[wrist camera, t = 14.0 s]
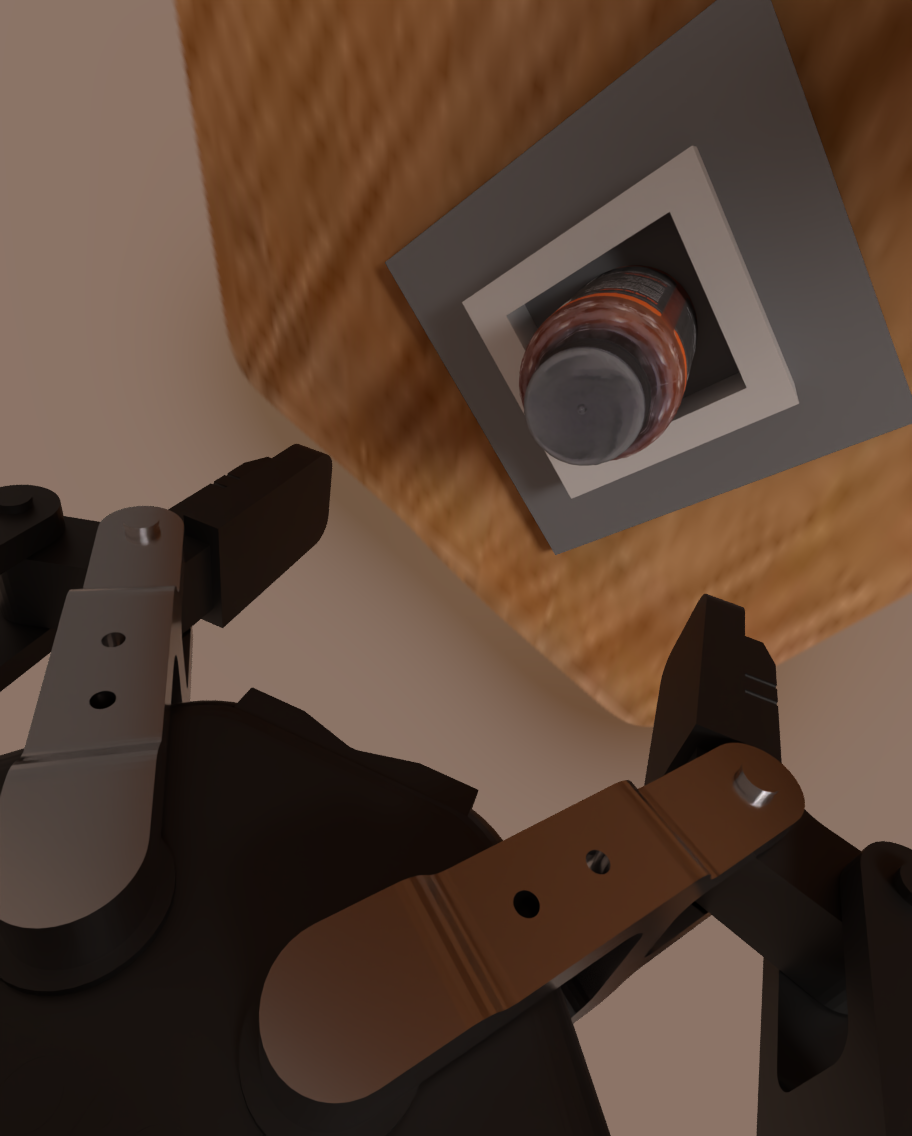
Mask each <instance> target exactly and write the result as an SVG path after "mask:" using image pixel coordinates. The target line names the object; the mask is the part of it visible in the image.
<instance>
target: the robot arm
mask: <svg viewBox="0 0 912 1136" xmlns="http://www.w3.org/2000/svg"><path fill="white" fill-rule="evenodd" d="M331 474H332V460H331V458H330V456H329V455H327V454H324V453H322V452H319V451H316V450H313V449H310V448H308V447H305V446H302V445H300V444H294V445H292V446H290V447H289V448H287V449H286V450H284V451H282V452H281V453H279V454H278V455H276V456H275V457H273V458H269V457H265V458H261V459H258V460H254V461H250V462H246V463H243V464H242V465H240V466H239V467H237V468H235V469H234V470H232V471H231V472H229V473H228V475H227V476H225V475H224V476H222V477H221V478H219V479H217V480H216V481H214V484H209V485H208V486H206V487H204V488H203V489H201V490H199V491H198V492H196V493H194V494H193V495H191V496H190V497H188V498H186V499H185V500H183V501H182V502H180V503H178V504H177V505H175V506H173V507H172V508H170V509H168V510H167V509H164V508H160V507H154V506H136V507H129V508H124V509H121V510H118V511H115V512H113V513H111V514H109V515H108V516H106V517H105V518H104V519H103V520H102V521H101V522H97V521H90V520H85V519H78V518H72V517H66V516H63V511H62V507H61V502H60V499H59V497H58V496H57V494H56V493H54V492H53V491H51V490H49V489H46V488H43V487H39V486H33V485H10V486H4V487H0V692H1V691H2V690H3V689H4V688H6V687H7V686H8V685H10V684H11V683H12V682H13V681H15V680H16V679H17V678H18V677H20V676H21V675H22V674H24V673H25V672H26V671H27V670H29V669H30V668H31V667H32V666H34V665H35V664H36V663H38V662H39V661H40V660H41V659H42V658H44V657H45V656H46V655H48V654H49V653H50V652H51V654H50V658H49V662H48V665H47V669H46V672H45V676H44V680H43V683H42V687H41V691H40V694H39V698H38V701H37V705H36V709H35V713H34V716H33V720H32V723H31V727H30V731H29V734H28V738H27V742H26V745H25V748H24V749H21V750H17V751H14V752H11V753H7V754H4V755H0V1136H611V1135H610V1132H609V1130H608V1126H607V1123H606V1120H605V1118H604V1115H603V1112H602V1109H601V1106H600V1103H599V1100H598V1097H597V1094H596V1091H595V1088H594V1085H593V1082H592V1079H591V1076H590V1073H589V1070H588V1067H587V1064H586V1062H585V1059H584V1055H583V1052H582V1049H581V1046H580V1044H579V1041H578V1037H577V1034H576V1031H575V1029H574V1026H573V1023H575V1022H576V1021H577V1020H579V1019H580V1018H581V1017H583V1016H584V1015H585V1014H587V1013H588V1012H589V1011H591V1010H592V1009H593V1008H594V1007H596V1006H597V1005H598V1004H600V1003H601V1002H602V1001H603V1000H604V999H605V998H607V997H608V996H609V995H610V994H611V993H612V992H614V991H615V990H616V989H617V988H618V987H619V986H620V985H621V984H622V983H623V982H624V981H625V980H626V979H627V978H629V977H630V976H631V975H632V974H633V973H634V972H636V971H637V970H638V969H639V968H641V967H642V966H643V965H645V964H646V963H648V962H649V961H650V960H652V959H653V958H654V957H655V956H657V955H658V954H660V953H661V952H662V951H664V950H665V949H666V948H668V947H669V946H670V945H672V944H673V943H674V942H676V941H677V940H679V939H680V938H681V937H683V936H684V935H685V934H687V933H688V932H689V931H691V930H692V929H693V928H695V927H696V926H697V925H698V924H700V923H701V922H703V921H704V920H705V919H707V918H708V917H710V916H711V915H713V916H714V917H715V918H716V919H718V920H719V921H720V922H721V923H723V924H724V925H725V926H726V927H727V928H729V929H730V930H731V931H732V932H734V933H735V934H736V935H737V936H739V937H740V938H741V939H742V940H743V941H745V942H746V943H747V944H748V945H750V946H751V947H752V948H753V949H754V950H756V951H757V952H758V953H759V954H761V955H762V956H763V957H764V961H763V988H762V1012H761V1037H760V1064H759V1066H760V1067H759V1088H758V1089H759V1090H758V1114H757V1136H912V850H911V849H909V848H907V847H905V846H902V845H899V844H896V843H892V842H885V841H881V842H875V843H872V844H870V845H868V846H867V847H866V848H865V849H863V850H862V851H860V850H858V849H857V848H856V847H854V846H853V845H851V844H850V843H848V842H847V841H845V840H844V839H842V838H841V837H839V836H838V835H836V834H835V833H834V832H832V831H831V830H829V829H828V828H826V827H825V826H824V825H822V824H821V823H820V822H818V821H817V820H816V819H815V818H813V817H812V816H811V815H810V814H809V813H808V812H807V811H806V810H805V809H804V808H805V800H804V796H803V792H802V790H801V788H800V785H799V784H798V782H797V781H796V779H795V778H794V776H793V775H792V774H791V772H790V771H789V770H788V769H787V768H786V767H785V766H784V765H783V764H782V762H781V747H780V731H779V714H778V706H777V702H778V698H777V689H776V685H777V681H776V665H775V663H774V661H773V659H772V658H771V656H770V654H769V652H768V651H767V649H766V647H765V645H764V644H763V643H762V642H760V641H757V640H754V639H752V638H749V637H746V636H745V609H744V608H743V607H741V606H738V605H735V604H733V603H730V602H727V601H724V600H722V599H719V598H716V597H713V596H711V595H708V594H704V595H703V596H702V597H701V598H700V600H699V601H698V603H697V605H696V607H695V609H694V611H693V612H692V614H691V616H690V618H689V620H688V622H687V623H686V625H685V627H684V629H683V631H682V633H681V635H680V636H679V638H678V640H677V642H676V644H675V646H674V648H673V649H672V651H671V653H670V656H669V658H668V660H667V663H666V665H665V668H664V671H663V675H662V679H661V684H660V690H659V696H658V703H657V709H656V715H655V721H654V728H653V734H652V741H651V747H650V753H649V760H648V766H647V772H646V778H645V785H644V786H643V787H641V788H639V789H637V788H636V787H635V786H634V784H633V783H632V782H631V781H629V780H625V781H621V782H618V783H616V784H613V785H612V786H610V787H607V788H605V789H604V790H602V791H600V792H598V793H596V794H594V795H592V796H590V797H588V798H586V799H584V800H582V801H580V802H578V803H576V804H574V805H572V806H570V807H568V808H566V809H565V810H562V811H560V812H559V813H557V814H555V815H553V816H551V817H549V818H547V819H545V820H543V821H541V822H539V823H537V824H535V825H533V826H531V827H529V828H527V829H525V830H523V831H521V832H519V833H517V834H516V835H514V836H512V837H510V838H508V839H506V840H504V841H503V840H502V839H501V837H500V836H499V835H498V834H497V832H496V831H495V830H494V829H493V828H492V827H491V826H490V825H489V824H488V823H487V822H486V821H485V820H484V819H483V818H482V817H481V816H480V815H479V814H477V813H476V812H475V811H474V810H472V807H473V804H474V802H475V799H476V796H477V793H478V790H477V789H475V788H473V787H471V786H469V785H466V784H464V783H462V782H460V781H457V780H455V779H453V778H451V777H449V776H447V775H444V774H442V773H440V772H437V771H435V770H433V769H431V768H429V767H427V766H424V765H422V764H420V763H415V762H411V761H406V760H401V759H396V758H392V757H386V756H382V755H377V754H372V753H367V752H362V751H358V750H355V749H353V748H351V747H349V746H348V745H346V744H345V743H344V742H343V741H341V740H340V739H339V738H338V737H336V736H335V735H334V734H333V733H331V732H330V731H329V730H327V729H326V728H325V727H324V726H323V725H321V724H320V723H319V722H318V721H316V720H315V719H314V718H313V717H311V716H310V715H309V714H307V713H306V712H305V711H303V710H301V709H299V708H296V707H294V706H292V705H290V704H288V703H285V702H283V701H281V700H279V699H276V698H274V697H272V696H270V695H268V694H266V693H263V692H261V691H259V690H257V689H255V688H251V689H250V690H249V691H248V692H247V693H246V694H245V695H244V696H243V697H242V698H241V700H240V701H239V702H238V703H235V702H226V701H193V702H190V690H191V669H192V647H193V631H192V626H193V625H194V624H195V623H197V622H198V621H199V620H200V619H203V620H205V621H208V622H210V623H212V624H214V625H217V626H219V627H221V628H223V627H225V626H226V625H227V624H228V623H229V622H230V621H231V620H232V619H233V618H234V617H236V616H237V615H238V614H239V613H240V612H241V611H242V610H243V609H244V608H245V607H247V606H248V605H249V604H250V603H251V602H252V601H253V600H254V599H256V598H257V597H258V596H259V595H260V594H261V593H262V592H263V591H264V590H265V589H266V588H268V587H269V586H270V585H271V584H272V583H273V582H274V581H275V580H276V579H278V578H279V577H280V576H281V575H282V574H283V573H284V572H285V571H287V570H288V569H289V568H290V567H291V566H292V565H293V564H294V563H295V562H296V561H298V560H299V559H300V558H301V557H302V556H303V555H304V554H305V553H306V552H307V551H309V550H310V549H311V548H312V547H313V546H314V545H315V544H316V543H317V542H318V541H319V540H320V538H321V536H322V534H323V533H324V530H325V528H326V525H327V521H328V514H329V500H330V487H331V476H332V475H331Z"/></svg>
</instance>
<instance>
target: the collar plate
mask: <svg viewBox="0 0 912 1136" xmlns="http://www.w3.org/2000/svg"><path fill="white" fill-rule="evenodd" d="M385 263H386V265H387V267H388V269H389V270H390V272H391V274H392V275H393V277H394V279H395V281H396V282H397V284H398V286H399V287H400V289H401V291H402V293H403V294H404V296H405V298H406V299H407V301H408V303H409V305H410V306H411V308H412V310H413V311H414V313H415V315H416V317H417V318H418V320H419V322H420V323H421V325H422V327H423V329H424V330H425V332H426V334H427V335H428V337H429V339H430V341H431V342H432V344H433V346H434V347H435V349H436V351H437V353H438V354H439V356H440V358H441V359H442V361H443V363H444V365H445V366H446V368H447V370H448V372H449V373H450V375H451V377H452V378H453V380H454V382H455V384H456V385H457V387H458V389H459V390H460V392H461V394H462V396H463V397H464V399H465V401H466V402H467V404H468V406H469V408H470V409H471V411H472V413H473V414H474V416H475V418H476V420H477V421H478V423H479V425H480V426H481V428H482V430H483V432H484V433H485V435H486V437H487V438H488V440H489V442H490V444H491V445H492V447H493V449H494V450H495V452H496V454H497V456H498V457H499V459H500V461H501V462H502V464H503V466H504V468H505V469H506V471H507V473H508V474H509V476H510V478H511V480H512V481H513V483H514V485H515V486H516V488H517V490H518V492H519V493H520V495H521V497H522V498H523V500H524V502H525V504H526V505H527V507H528V509H529V510H530V512H531V514H532V516H533V517H534V519H535V521H536V522H537V524H538V526H539V528H540V529H541V531H542V533H543V534H544V536H545V538H546V540H547V541H548V543H549V545H550V546H551V548H552V550H553V552H554V553H555V555H557V554H560V553H562V552H565V551H568V550H570V549H573V548H576V547H579V546H581V545H584V544H587V543H589V542H592V541H595V540H598V539H600V538H603V537H606V536H608V535H611V534H614V533H617V532H619V531H622V530H625V529H627V528H630V527H633V526H635V525H638V524H641V523H644V522H646V521H649V520H652V519H654V518H657V517H660V516H663V515H665V514H668V513H671V512H673V511H676V510H679V509H682V508H684V507H687V506H690V505H692V504H695V503H698V502H700V501H703V500H706V499H709V498H711V497H714V496H717V495H719V494H722V493H725V492H728V491H730V490H733V489H736V488H738V487H741V486H744V485H747V484H749V483H752V482H755V481H757V480H760V479H763V478H765V477H768V476H771V475H774V474H776V473H779V472H782V471H784V470H787V469H790V468H793V467H795V466H798V465H801V464H803V463H806V462H809V461H812V460H814V459H817V458H820V457H822V456H825V455H828V454H830V453H833V452H836V451H839V450H841V449H844V448H847V447H849V446H852V445H855V444H858V443H860V442H863V441H866V440H868V439H871V438H874V437H877V436H879V435H882V434H885V433H887V432H890V431H893V430H895V429H898V428H901V427H904V426H906V425H909V424H912V395H911V393H910V390H909V387H908V384H907V381H906V379H905V376H904V373H903V370H902V367H901V365H900V362H899V359H898V356H897V353H896V350H895V348H894V345H893V342H892V339H891V336H890V334H889V331H888V328H887V325H886V322H885V320H884V317H883V314H882V311H881V308H880V305H879V303H878V300H877V297H876V294H875V291H874V289H873V286H872V283H871V280H870V277H869V275H868V272H867V269H866V266H865V263H864V260H863V258H862V255H861V252H860V249H859V246H858V244H857V241H856V238H855V235H854V232H853V230H852V227H851V224H850V221H849V218H848V215H847V213H846V210H845V207H844V204H843V201H842V199H841V196H840V193H839V190H838V187H837V185H836V182H835V179H834V176H833V173H832V170H831V168H830V165H829V162H828V159H827V156H826V154H825V151H824V148H823V145H822V142H821V140H820V137H819V134H818V131H817V128H816V125H815V123H814V120H813V117H812V114H811V111H810V109H809V106H808V103H807V100H806V97H805V95H804V92H803V89H802V86H801V83H800V80H799V78H798V75H797V72H796V69H795V66H794V64H793V61H792V58H791V55H790V52H789V50H788V47H787V44H786V41H785V38H784V35H783V33H782V30H781V27H780V24H779V21H778V19H777V16H776V13H775V10H774V7H773V5H772V2H771V0H716V1H715V2H714V3H713V4H711V5H710V6H709V7H708V8H706V9H705V10H704V11H702V12H701V13H700V14H699V15H697V16H696V17H695V18H694V19H692V20H691V21H690V22H689V23H687V24H686V25H685V26H684V27H682V28H681V29H680V30H678V31H677V32H676V33H675V34H673V35H672V36H671V37H670V38H668V39H667V40H666V41H665V42H663V43H662V44H661V45H659V46H658V47H657V48H656V49H654V50H653V51H652V52H651V53H649V54H648V55H647V56H646V57H644V58H643V59H642V60H640V61H639V62H638V63H637V64H635V65H634V66H633V67H632V68H630V69H629V70H628V71H627V72H625V73H624V74H623V75H622V76H620V77H619V78H618V79H616V80H615V81H614V82H613V83H611V84H610V85H609V86H608V87H606V88H605V89H604V90H603V91H601V92H600V93H599V94H597V95H596V96H595V97H594V98H592V99H591V100H590V101H589V102H587V103H586V104H585V105H584V106H582V107H581V108H580V109H578V110H577V111H576V112H575V113H573V114H572V115H571V116H570V117H568V118H567V119H566V120H565V121H563V122H562V123H561V124H560V125H558V126H557V127H556V128H554V129H553V130H552V131H551V132H549V133H548V134H547V135H546V136H544V137H543V138H542V139H541V140H539V141H538V142H537V143H535V144H534V145H533V146H532V147H530V148H529V149H528V150H527V151H525V152H524V153H523V154H522V155H520V156H519V157H518V158H516V159H515V160H514V161H513V162H511V163H510V164H509V165H508V166H506V167H505V168H504V169H503V170H501V171H500V172H499V173H498V174H496V175H495V176H494V177H492V178H491V179H490V180H489V181H487V182H486V183H485V184H484V185H482V186H481V187H480V188H479V189H477V190H476V191H475V192H473V193H472V194H471V195H470V196H468V197H467V198H466V199H465V200H463V201H462V202H461V203H460V204H458V205H457V206H456V207H454V208H453V209H452V210H451V211H449V212H448V213H447V214H446V215H444V216H443V217H442V218H441V219H439V220H438V221H437V222H436V223H434V224H433V225H432V226H430V227H429V228H428V229H427V230H425V231H424V232H423V233H422V234H420V235H419V236H418V237H417V238H415V239H414V240H413V241H411V242H410V243H409V244H408V245H406V246H405V247H404V248H403V249H401V250H400V251H399V252H398V253H396V254H395V255H394V256H392V257H391V258H390V259H389V260H387V261H386V262H385ZM630 265H642V266H648V267H653V268H655V269H658V270H661V271H663V272H665V273H667V274H669V275H670V276H672V277H673V278H675V279H676V280H677V281H678V282H679V283H680V284H681V286H682V287H683V288H684V289H685V290H686V292H687V294H688V295H689V297H690V299H691V301H692V303H693V306H694V309H695V312H696V316H697V326H698V335H697V344H696V348H695V353H694V356H693V360H692V364H691V368H690V372H689V376H688V380H687V383H686V388H685V391H684V394H683V397H682V400H681V404H680V406H679V408H678V411H677V413H676V414H675V416H674V418H673V420H672V421H671V423H670V424H669V426H668V427H667V429H666V430H665V431H664V432H663V434H662V435H661V436H660V437H659V438H657V439H656V440H655V441H654V442H653V443H651V444H650V445H649V446H647V447H646V448H644V449H643V450H641V451H639V452H637V453H636V454H633V455H631V456H629V457H626V458H621V459H618V460H612V461H608V462H604V463H601V464H599V465H589V466H579V465H571V464H568V463H565V462H562V461H560V460H558V459H556V458H554V457H552V456H551V455H549V454H548V453H547V452H546V451H544V450H543V449H542V448H541V447H540V446H539V445H538V444H537V442H536V441H535V440H534V438H533V437H532V435H531V433H530V430H529V428H528V426H527V423H526V419H525V414H524V408H523V405H522V400H521V397H520V391H519V376H520V374H519V372H520V366H521V361H522V359H523V356H524V353H525V351H526V348H527V346H528V344H529V342H530V340H531V338H532V336H533V335H534V333H535V332H536V331H537V329H538V328H539V327H540V326H541V325H542V323H543V322H544V321H545V320H546V319H547V318H549V317H550V316H551V315H552V314H553V313H554V312H555V311H557V310H558V309H559V308H560V307H561V306H562V305H563V304H564V303H566V302H567V301H568V300H569V299H570V298H572V297H573V296H574V295H575V294H576V293H577V292H579V291H580V290H581V289H582V288H583V287H585V286H586V285H587V284H588V283H589V282H591V281H592V280H593V279H595V278H596V277H598V276H599V275H601V274H603V273H605V272H608V271H610V270H612V269H615V268H618V267H622V266H630Z"/></svg>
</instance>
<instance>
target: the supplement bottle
mask: <svg viewBox="0 0 912 1136" xmlns="http://www.w3.org/2000/svg"><path fill="white" fill-rule="evenodd" d="M697 335H698V326H697V316H696V312H695V309H694V306H693V303H692V301H691V299H690V297H689V295H688V294H687V292H686V290H685V289H684V288H683V287H682V286H681V284H680V283H679V282H678V281H677V280H676V279H675V278H673V277H672V276H670V275H669V274H667V273H665V272H663V271H661V270H658V269H655V268H653V267H648V266H642V265H630V266H622V267H618V268H615V269H612V270H610V271H608V272H605V273H603V274H601V275H599V276H598V277H596V278H595V279H593V280H592V281H591V282H589V283H588V284H587V285H586V286H585V287H583V288H582V289H581V290H580V291H579V292H577V293H576V294H575V295H574V296H573V297H572V298H570V299H569V300H568V301H567V302H566V303H564V304H563V305H562V306H561V307H560V308H559V309H558V310H557V311H555V312H554V313H553V314H552V315H551V316H550V317H549V318H547V319H546V320H545V321H544V322H543V323H542V325H541V326H540V327H539V328H538V329H537V331H536V332H535V333H534V335H533V336H532V338H531V340H530V342H529V344H528V346H527V348H526V351H525V353H524V356H523V359H522V361H521V366H520V372H519V374H520V376H519V391H520V397H521V400H522V405H523V408H524V414H525V419H526V423H527V426H528V428H529V430H530V433H531V435H532V437H533V438H534V440H535V441H536V442H537V444H538V445H539V446H540V447H541V448H542V449H543V450H544V451H546V452H547V453H548V454H549V455H551V456H552V457H554V458H556V459H558V460H560V461H562V462H565V463H568V464H571V465H579V466H589V465H599V464H601V463H604V462H608V461H612V460H618V459H621V458H626V457H629V456H631V455H633V454H636V453H637V452H639V451H641V450H643V449H644V448H646V447H647V446H649V445H650V444H651V443H653V442H654V441H655V440H656V439H657V438H659V437H660V436H661V435H662V434H663V432H664V431H665V430H666V429H667V427H668V426H669V424H670V423H671V421H672V420H673V418H674V416H675V414H676V413H677V411H678V408H679V406H680V404H681V400H682V397H683V394H684V391H685V388H686V383H687V380H688V376H689V372H690V368H691V364H692V360H693V356H694V353H695V348H696V344H697Z"/></svg>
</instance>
